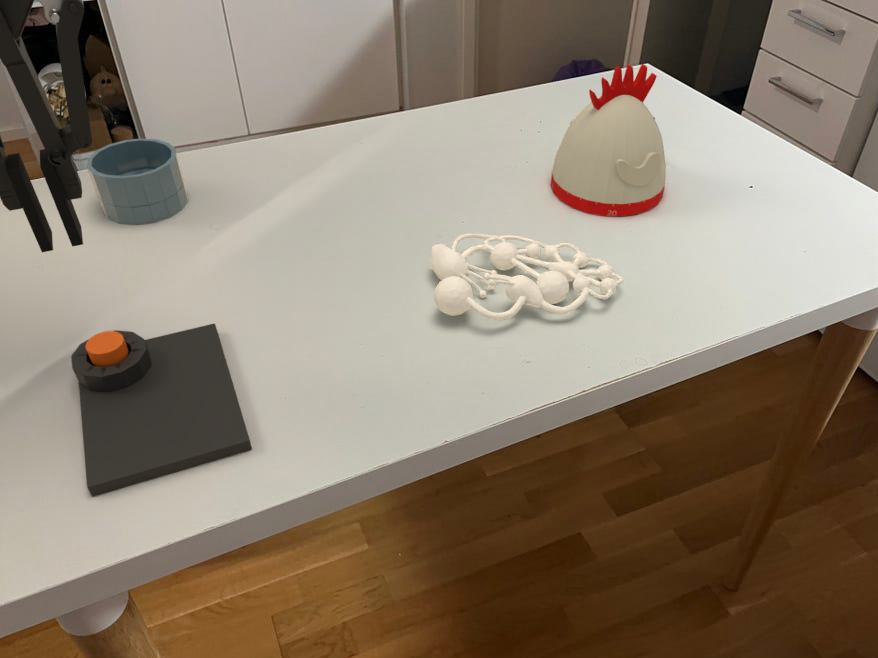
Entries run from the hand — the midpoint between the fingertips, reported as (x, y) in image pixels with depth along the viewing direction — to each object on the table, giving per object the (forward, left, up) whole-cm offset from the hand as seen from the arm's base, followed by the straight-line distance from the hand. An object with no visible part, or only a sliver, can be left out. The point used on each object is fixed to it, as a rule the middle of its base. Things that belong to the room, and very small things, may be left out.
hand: (61, 238), depth 57 cm
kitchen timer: (+26, +54, -15) cm, 61 cm away
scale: (+6, -1, -14) cm, 16 cm away
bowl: (-18, +21, -14) cm, 31 cm away
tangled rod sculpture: (+24, +30, -15) cm, 41 cm away
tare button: (0, 0, -12) cm, 12 cm away
